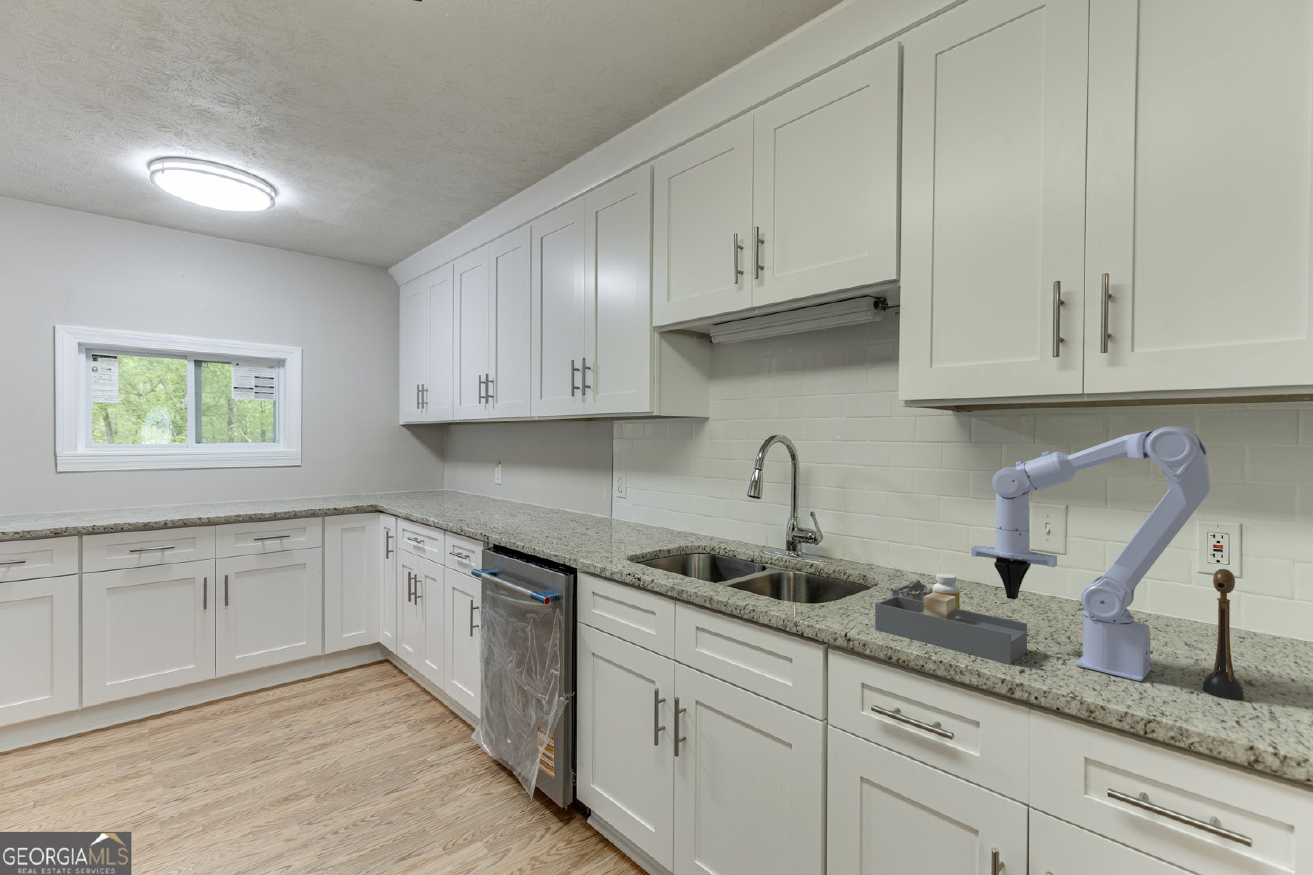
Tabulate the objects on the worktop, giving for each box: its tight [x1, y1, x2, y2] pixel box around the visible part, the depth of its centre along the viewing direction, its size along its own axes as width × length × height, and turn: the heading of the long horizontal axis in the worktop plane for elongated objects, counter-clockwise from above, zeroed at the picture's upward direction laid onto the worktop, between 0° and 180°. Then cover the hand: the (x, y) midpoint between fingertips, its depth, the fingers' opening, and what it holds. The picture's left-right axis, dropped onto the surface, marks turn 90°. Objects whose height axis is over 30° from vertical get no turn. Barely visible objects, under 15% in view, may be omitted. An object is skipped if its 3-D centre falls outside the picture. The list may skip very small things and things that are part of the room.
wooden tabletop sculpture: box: [1202, 568, 1244, 701], centre depth 96 cm, size 6×5×20 cm
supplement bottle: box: [932, 573, 961, 609], centre depth 135 cm, size 5×5×10 cm
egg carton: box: [886, 579, 933, 602], centre depth 151 cm, size 11×8×4 cm
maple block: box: [924, 592, 956, 620], centre depth 123 cm, size 4×4×4 cm
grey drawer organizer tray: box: [874, 596, 1028, 665], centre depth 121 cm, size 26×9×6 cm, turn 42°
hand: (1012, 597), depth 118 cm, fingers closed
